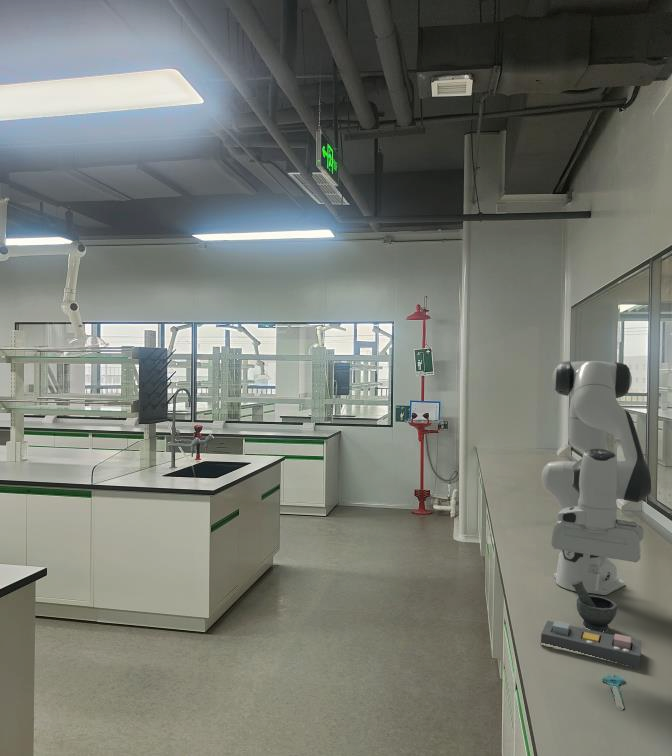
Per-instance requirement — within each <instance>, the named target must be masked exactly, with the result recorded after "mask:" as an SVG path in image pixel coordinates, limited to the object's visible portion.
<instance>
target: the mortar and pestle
mask: <svg viewBox="0 0 672 756" xmlns="http://www.w3.org/2000/svg"><path fill="white" fill-rule="evenodd" d="M572 586H573V587H574V588H575V590H576V591H575V592H576V594H577V596H578V597H577V598H576V609H577V612H578V614H579V616H580V617H581V619H582V620H583V622H582V626H583V625H584V626H585V627H586V628H588V629H590V630H593V631H598V632H603V631H604V633H607V632H608V631H609V625H610V624H611V623H612V622H613V620H614V619H615V618H616V615H617V612H618V605H617V604H616V603H615V602H614V601H613V600H611V599H608V598H605V597H603V596H597V595H592V594H591V595H590V594H589V593H587V591H586V590H585V588H584V586H583V582H582V581H581V580H577V581H575V582H573V583H572ZM584 626H583V627H584ZM607 630H608V631H607ZM606 631H607V632H606Z"/></svg>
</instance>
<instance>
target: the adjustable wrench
mask: <svg viewBox="0 0 672 756" xmlns="http://www.w3.org/2000/svg"><path fill="white" fill-rule="evenodd" d="M602 680H603V681H607V682H608V683H609V684H610V685H611V687H610V689H611V688H612V689H613V687H612V686H616V687H617V689H618V692H619V695H620V698H621V700H623V698H622V694H620V693H621V690H620V686H619V685H620V684H621V683H622V684H624V683H626V684H627V681H626V680H625V678H622V677H620V676H619V675H616V674H613V676H611V674H607V675H606V676H604V677H602V679H601V681H602ZM608 683H607V684H608ZM612 683H613V684H612ZM609 684H608V685H609ZM622 684H621V685H622ZM610 685H609V686H610ZM613 695H614V693H613V694H612V696H613ZM614 697H615V695H614Z"/></svg>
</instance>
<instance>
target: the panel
mask: <svg viewBox="0 0 672 756" xmlns="http://www.w3.org/2000/svg"><path fill="white" fill-rule="evenodd" d="M554 622H555V621H551V620H547V621H546V623H545V624H544V627H543V629H542V631H541V633H540V634H541V635H540V644H541V643H545V644H550V645H553V646H558V647H561V648H566V649H569V650H573V651H578V652H581V653H584V654H588V655H592V656H595V657H599V658H603V659H606V660H610V661H613V662H617V663H620V664H619V665H621V664H624V665H623V666H625V665H628V666H627V667H630V666H632V667H631V668H634V667H637V668H636V669H638V668H639V669H640V666H641V665H640V664H641V657H640V656H642V640H639V639H633V638H631V648H630V650H629V649H625V648H620V647H616V646H614V636H615V634H611V633H607V632H604V633H602V632H598V631H593V630H588V629H585V628H584V627H578V626H573V625H570V632H569V635H568V636H567V635H563V634H558V633H554V632H552V629H553V624H554ZM584 632H587V633H591V634H596V635H600V639H599V643H598V642H594V641H589V640H585V639H582V637H583V634H584ZM613 662H612V663H613ZM617 663H616V664H617Z"/></svg>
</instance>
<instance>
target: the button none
mask: <svg viewBox="0 0 672 756" xmlns="http://www.w3.org/2000/svg"><path fill="white" fill-rule="evenodd" d="M553 622H554V624H553V629H552V632H554V633H558V634H563V635H567V636H568V635H569V632H570V626H571V624H570V623H569V622H568V623H567V622H563V621H559V620H554V621H553Z"/></svg>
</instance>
